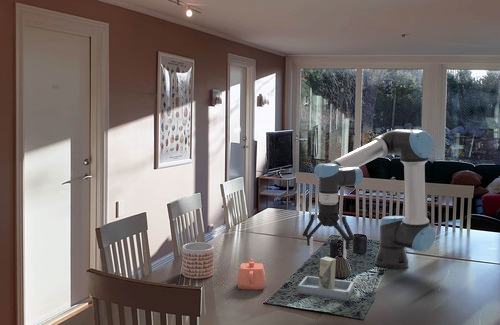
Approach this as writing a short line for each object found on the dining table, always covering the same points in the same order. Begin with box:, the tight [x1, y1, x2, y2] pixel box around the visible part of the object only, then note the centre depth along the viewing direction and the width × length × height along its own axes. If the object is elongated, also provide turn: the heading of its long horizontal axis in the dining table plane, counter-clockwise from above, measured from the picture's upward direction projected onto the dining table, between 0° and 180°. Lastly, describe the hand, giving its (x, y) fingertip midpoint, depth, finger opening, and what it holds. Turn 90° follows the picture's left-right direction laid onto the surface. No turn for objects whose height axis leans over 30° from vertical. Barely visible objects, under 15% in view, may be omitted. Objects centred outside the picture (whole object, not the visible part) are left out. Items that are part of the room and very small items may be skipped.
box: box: [318, 256, 337, 289], centre depth 204 cm, size 5×4×13 cm
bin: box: [297, 275, 355, 301], centre depth 205 cm, size 13×20×3 cm, turn 69°
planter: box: [181, 241, 215, 280], centre depth 224 cm, size 14×14×13 cm
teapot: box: [237, 257, 266, 291], centre depth 210 cm, size 12×18×10 cm, turn 178°
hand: (327, 255), depth 204 cm, fingers open, 13 cm apart
